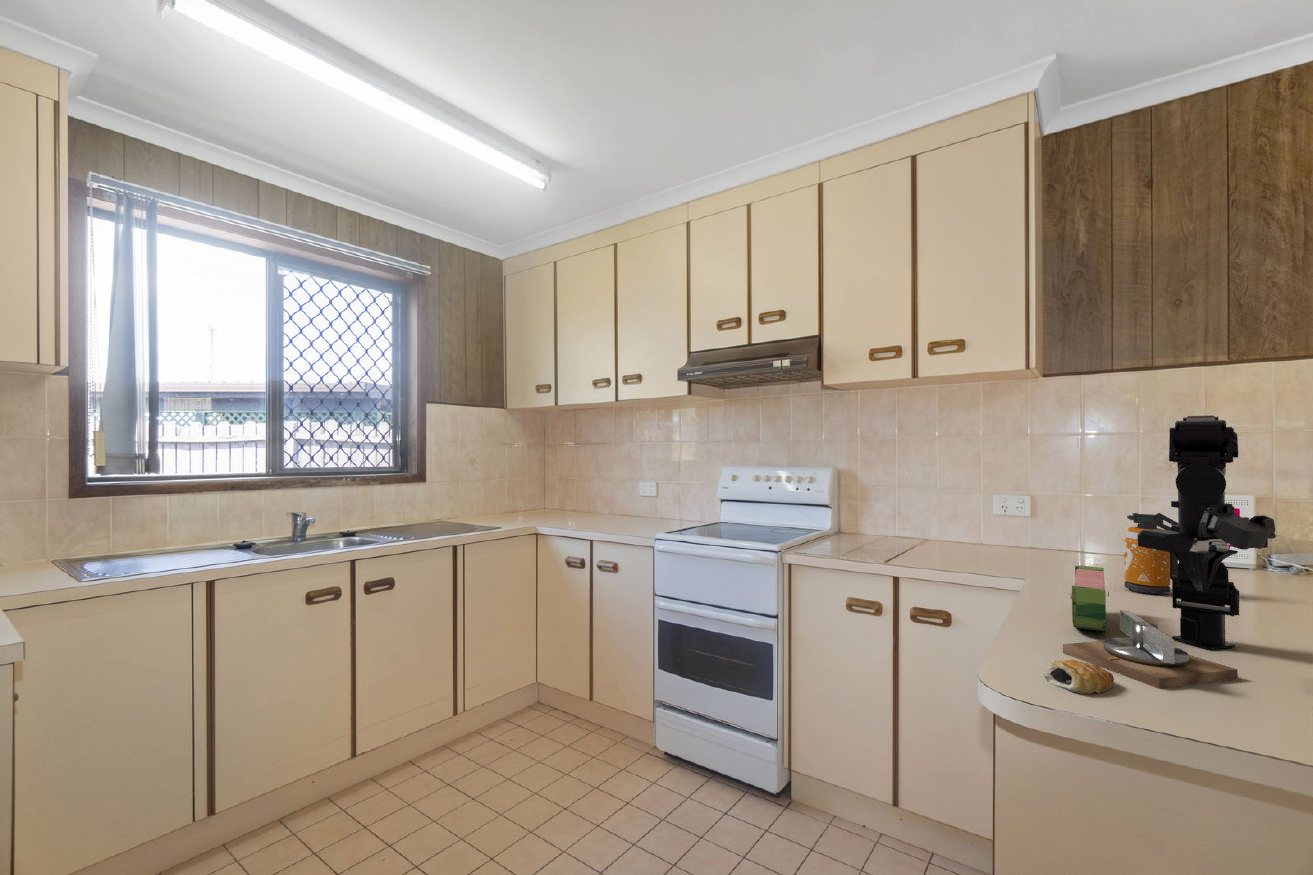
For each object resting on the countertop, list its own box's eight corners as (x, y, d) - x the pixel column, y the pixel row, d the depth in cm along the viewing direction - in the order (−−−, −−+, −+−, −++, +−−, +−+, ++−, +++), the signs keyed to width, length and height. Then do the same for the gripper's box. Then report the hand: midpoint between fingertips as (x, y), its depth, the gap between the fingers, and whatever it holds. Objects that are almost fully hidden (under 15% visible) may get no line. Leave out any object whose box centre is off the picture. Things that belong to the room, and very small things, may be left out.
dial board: (1133, 645, 109) (1133, 636, 109) (1237, 679, 93) (1237, 668, 93) (1062, 652, 105) (1062, 643, 105) (1159, 688, 89) (1159, 677, 89)
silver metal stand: (1199, 652, 100) (1199, 622, 100) (1176, 675, 90) (1176, 642, 90) (1118, 636, 108) (1118, 608, 109) (1089, 655, 98) (1089, 625, 98)
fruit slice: (1073, 609, 134) (1072, 564, 134) (1108, 613, 130) (1107, 568, 130) (1069, 638, 113) (1068, 585, 113) (1110, 645, 109) (1110, 590, 109)
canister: (1122, 586, 157) (1121, 510, 157) (1176, 591, 151) (1176, 512, 152) (1127, 593, 149) (1126, 513, 150) (1185, 599, 144) (1184, 515, 144)
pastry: (1084, 675, 95) (1084, 651, 95) (1129, 692, 89) (1129, 666, 89) (1039, 681, 92) (1039, 656, 93) (1081, 699, 86) (1081, 672, 86)
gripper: (1204, 503, 89) (1205, 608, 89) (1307, 499, 92) (1309, 601, 92) (1134, 496, 100) (1135, 589, 100) (1228, 492, 103) (1229, 583, 103)
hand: (1202, 591), depth 98 cm, fingers closed
